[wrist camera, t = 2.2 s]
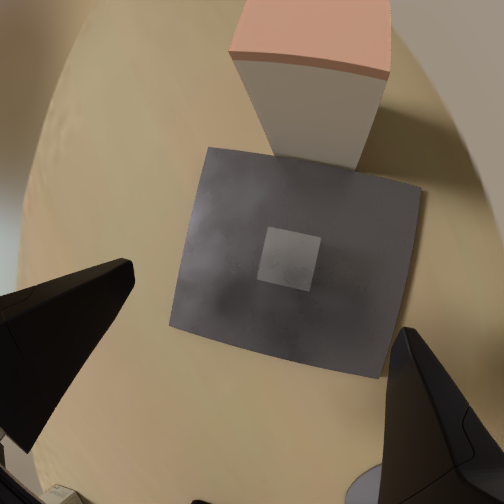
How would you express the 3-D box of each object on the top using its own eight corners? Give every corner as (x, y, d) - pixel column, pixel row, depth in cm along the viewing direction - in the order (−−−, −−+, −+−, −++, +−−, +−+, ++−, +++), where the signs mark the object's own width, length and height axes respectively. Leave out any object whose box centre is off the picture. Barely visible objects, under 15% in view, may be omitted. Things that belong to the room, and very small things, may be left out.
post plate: (377, 376, 19) (390, 403, 15) (172, 324, 22) (140, 336, 18) (418, 189, 19) (442, 171, 15) (210, 149, 22) (187, 125, 18)
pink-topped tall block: (354, 171, 20) (390, 71, 8) (274, 155, 21) (228, 50, 9) (364, 101, 20) (389, -20, 8) (289, 88, 21) (260, -34, 9)
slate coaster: (410, 522, 17) (411, 524, 17) (331, 518, 19) (331, 521, 19) (451, 459, 17) (453, 461, 17) (366, 453, 19) (366, 456, 19)
